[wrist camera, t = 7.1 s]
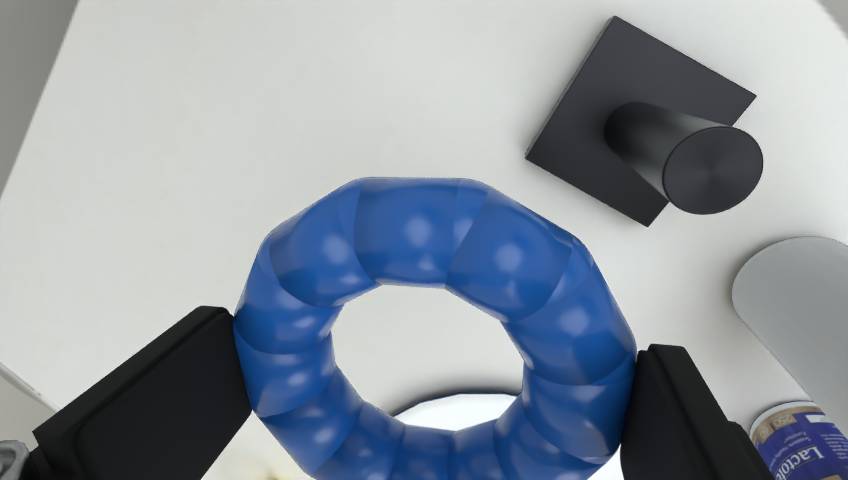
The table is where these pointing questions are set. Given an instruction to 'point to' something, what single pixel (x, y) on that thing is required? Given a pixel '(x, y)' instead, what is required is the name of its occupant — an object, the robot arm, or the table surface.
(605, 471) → the plate
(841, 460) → the pill bottle
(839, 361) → the beverage can
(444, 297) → the table surface
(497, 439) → the ring
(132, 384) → the robot arm
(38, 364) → the table surface
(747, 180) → the peg stand
